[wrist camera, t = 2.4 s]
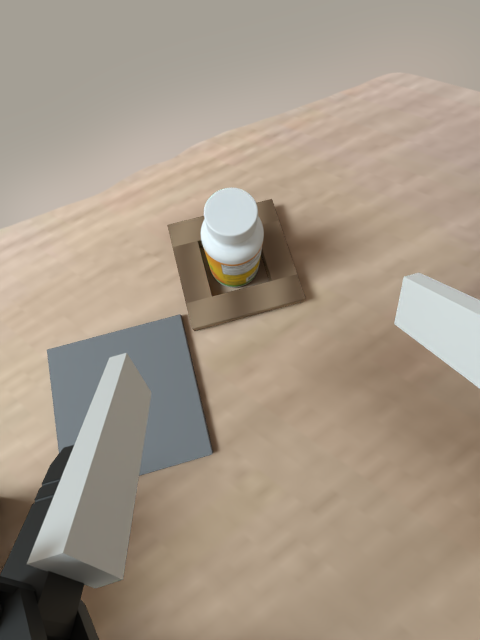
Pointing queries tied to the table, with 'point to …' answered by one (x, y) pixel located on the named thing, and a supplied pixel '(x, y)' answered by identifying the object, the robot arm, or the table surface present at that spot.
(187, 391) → the mat
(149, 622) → the table surface
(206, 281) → the socket block
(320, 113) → the table surface
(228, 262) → the supplement bottle
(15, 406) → the table surface
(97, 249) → the table surface
